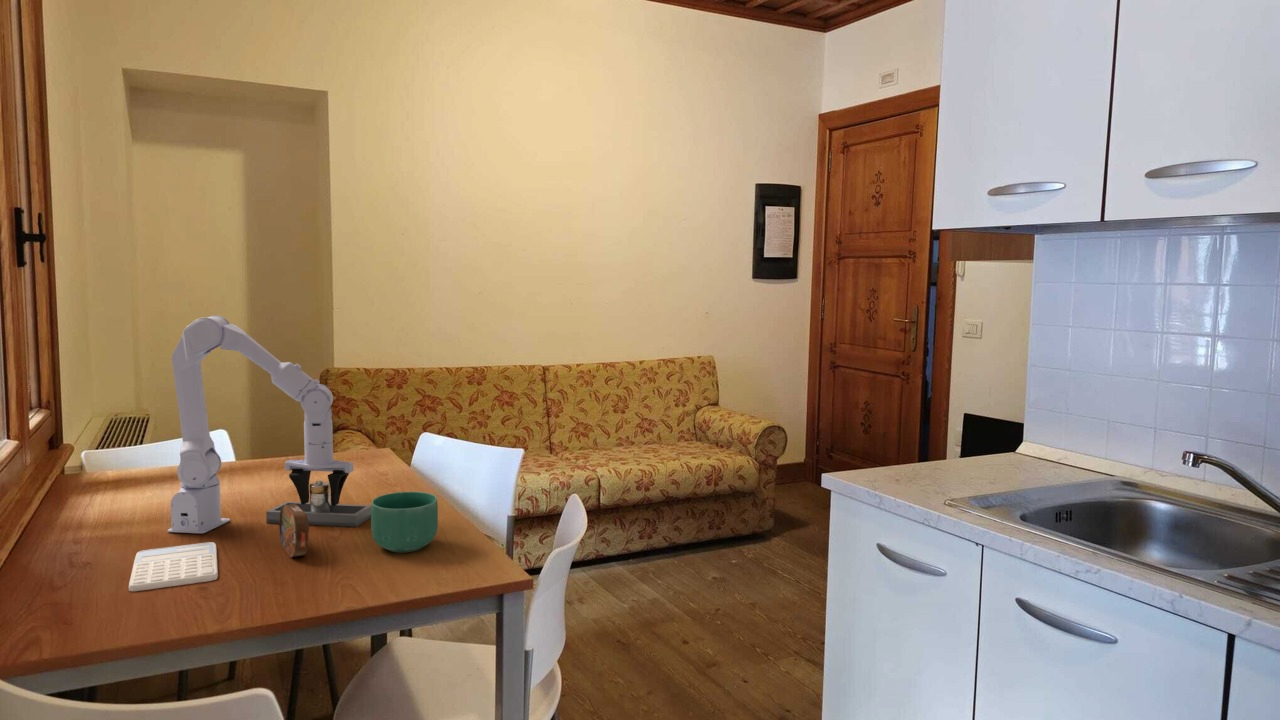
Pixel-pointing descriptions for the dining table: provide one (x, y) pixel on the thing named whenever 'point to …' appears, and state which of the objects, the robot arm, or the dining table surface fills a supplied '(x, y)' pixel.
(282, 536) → the tin
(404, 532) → the mug
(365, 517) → the trough
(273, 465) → the dining table surface
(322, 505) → the cell
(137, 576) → the calculator
